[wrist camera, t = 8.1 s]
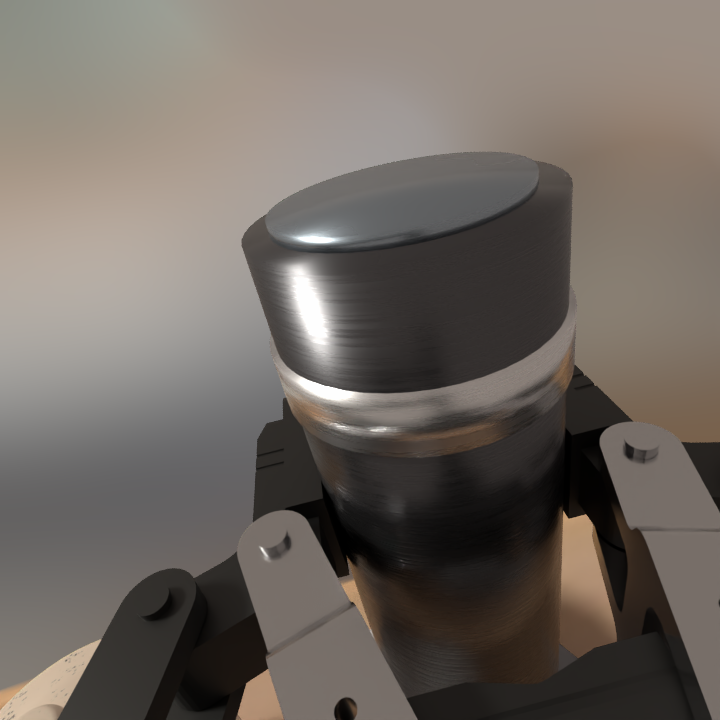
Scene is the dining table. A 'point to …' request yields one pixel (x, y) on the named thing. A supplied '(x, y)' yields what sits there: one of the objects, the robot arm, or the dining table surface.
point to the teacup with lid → (50, 688)
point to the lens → (434, 397)
